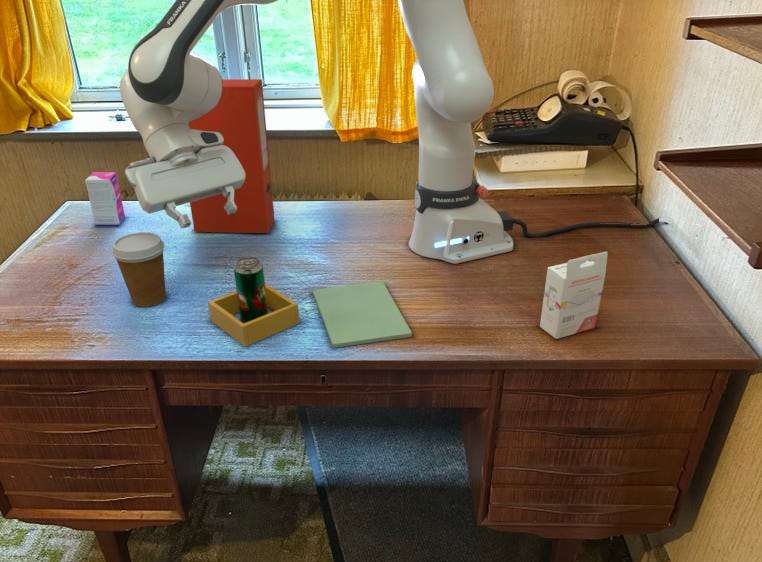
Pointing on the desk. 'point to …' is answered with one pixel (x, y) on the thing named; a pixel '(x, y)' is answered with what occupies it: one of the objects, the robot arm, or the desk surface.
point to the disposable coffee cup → (142, 267)
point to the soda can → (250, 288)
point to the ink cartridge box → (573, 295)
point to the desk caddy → (259, 327)
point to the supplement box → (105, 199)
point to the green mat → (360, 314)
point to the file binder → (249, 143)
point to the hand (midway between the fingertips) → (210, 219)
